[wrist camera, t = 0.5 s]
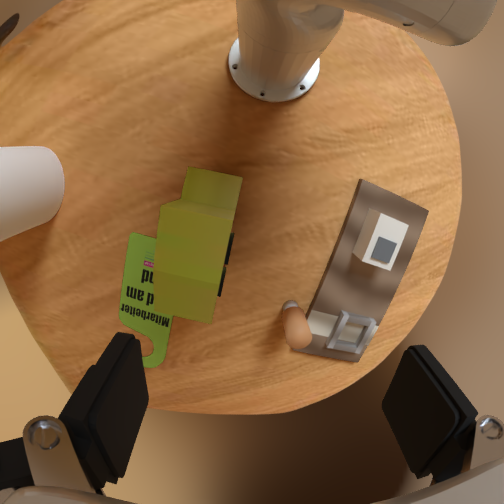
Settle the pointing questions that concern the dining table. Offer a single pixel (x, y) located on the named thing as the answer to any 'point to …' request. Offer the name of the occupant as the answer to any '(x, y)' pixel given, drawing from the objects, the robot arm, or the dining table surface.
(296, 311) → the tan rounded cylinder
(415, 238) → the panel
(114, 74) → the dining table surface
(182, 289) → the toy
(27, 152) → the canister
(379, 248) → the block
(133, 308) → the door hanger
